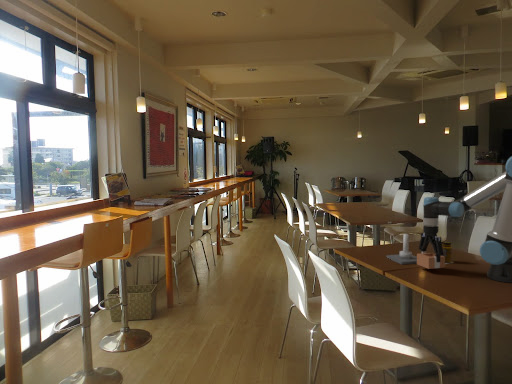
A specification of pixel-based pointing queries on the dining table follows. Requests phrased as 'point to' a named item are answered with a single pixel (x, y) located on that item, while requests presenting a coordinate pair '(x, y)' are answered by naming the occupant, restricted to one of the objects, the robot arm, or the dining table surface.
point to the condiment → (447, 251)
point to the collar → (429, 260)
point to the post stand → (404, 253)
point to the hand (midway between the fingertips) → (430, 265)
